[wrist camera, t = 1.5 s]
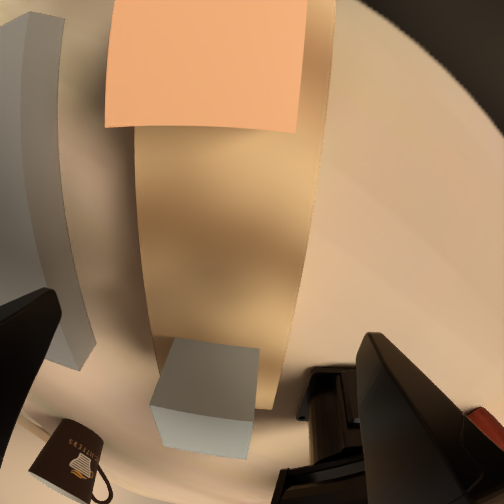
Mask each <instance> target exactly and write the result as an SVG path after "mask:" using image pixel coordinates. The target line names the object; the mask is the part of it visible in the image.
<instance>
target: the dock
mask: <svg viewBox="0 0 504 504" xmlns="http://www.w3.org/2000/svg"><path fill="white" fill-rule="evenodd" d="M64 20H65V19H63V18H59V17H55V16H50V15H46V14H41V13H36V12H31V11H30V12H27V13H25V14H23V15H21V16H19V17H17V18H15V19H14V20H12V21H10V22H8V23H6V24H4V25H3V26H1V27H0V306H1V305H3V304H6V303H8V302H10V301H12V300H15V299H17V298H19V297H21V296H24V295H26V294H28V293H31V292H33V291H35V290H38V289H40V288H42V287H47V288H51V289H54V290H55V291H56V293H57V296H58V300H59V303H60V306H61V309H62V318H61V320H60V323H59V325H58V327H57V330H56V332H55V334H54V337H53V339H52V342H51V344H50V347H49V349H48V352H47V354H46V356H45V359H47V360H49V361H52V362H55V363H57V364H60V365H63V366H66V367H68V368H71V369H74V370H77V371H80V370H81V368H82V367H83V365H84V363H85V362H86V360H87V358H88V357H89V355H90V353H91V352H92V350H93V348H94V347H95V345H96V341H95V338H94V335H93V332H92V329H91V325H90V322H89V319H88V316H87V312H86V309H85V305H84V302H83V298H82V294H81V290H80V287H79V283H78V279H77V274H76V270H75V266H74V261H73V256H72V252H71V247H70V241H69V236H68V230H67V224H66V218H65V211H64V204H63V197H62V188H61V178H60V167H59V153H58V131H57V96H58V74H59V61H60V50H61V41H62V34H63V27H64Z"/></svg>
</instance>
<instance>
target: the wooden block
mask: <svg viewBox="0 0 504 504" xmlns="http://www.w3.org/2000/svg"><path fill="white" fill-rule="evenodd" d="M335 10H336V0H308V1H307V15H306V28H305V40H304V52H303V63H302V74H301V85H300V95H299V105H298V114H297V124H296V133H288V132H279V131H269V130H259V129H247V128H232V127H213V126H135V134H134V147H135V187H136V206H137V221H138V233H139V244H140V254H141V264H142V272H143V280H144V288H145V295H146V302H147V309H148V315H149V321H150V327H151V333H152V339H153V344H154V349H155V354H156V360H157V364H158V369H159V374H160V375H161V372H162V370H163V367H164V364H165V362H166V359H167V357H168V354H169V351H170V349H171V346H172V344H173V341H174V339H175V337H177V338H183V339H189V340H196V341H203V342H210V343H217V344H224V345H232V346H241V347H249V348H259V349H260V355H259V367H258V379H257V390H256V402H255V408H256V409H268V410H272V407H273V403H274V399H275V395H276V391H277V387H278V383H279V379H280V375H281V371H282V366H283V362H284V358H285V353H286V349H287V344H288V340H289V335H290V331H291V326H292V321H293V317H294V312H295V307H296V302H297V297H298V292H299V287H300V282H301V277H302V271H303V266H304V260H305V255H306V249H307V244H308V238H309V232H310V226H311V220H312V214H313V208H314V202H315V195H316V189H317V182H318V175H319V168H320V161H321V154H322V146H323V139H324V131H325V122H326V114H327V105H328V96H329V86H330V76H331V65H332V53H333V41H334V26H335Z"/></svg>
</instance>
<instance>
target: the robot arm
mask: <svg viewBox="0 0 504 504" xmlns="http://www.w3.org/2000/svg"><path fill="white" fill-rule="evenodd" d="M61 318H62V309H61V306H60V303H59V300H58V296H57V293H56V291H55V290H54V289H51V288H47V287H42V288H40V289H38V290H35V291H33V292H31V293H28V294H26V295H24V296H21V297H19V298H17V299H15V300H12V301H10V302H8V303H6V304H3V305H1V306H0V468H1V465H2V461H3V458H4V455H5V451H6V448H7V446H8V443H9V440H10V437H11V434H12V431H13V429H14V426H15V424H16V421H17V419H18V416H19V414H20V411H21V409H22V407H23V404H24V402H25V399H26V397H27V395H28V393H29V390H30V388H31V386H32V384H33V382H34V379H35V377H36V375H37V373H38V371H39V369H40V367H41V365H42V363H43V361H44V359H45V356H46V354H47V352H48V349H49V347H50V344H51V342H52V339H53V337H54V334H55V332H56V330H57V327H58V325H59V323H60V320H61ZM318 374H319V375H318ZM296 419H297V420H298V421H308V426H309V453H310V465H309V466H304V467H299V468H294V469H289V468H287V469H281V470H280V473H279V477H278V480H277V483H276V487H275V490H274V494H273V498H272V501H271V504H504V451H503V450H502V449H501V448H500V447H498V446H497V445H496V444H495V443H494V442H493V441H492V440H491V439H490V438H488V437H487V436H486V435H485V434H484V433H483V432H482V431H481V430H480V429H479V428H478V427H477V426H476V425H475V424H474V423H473V422H472V421H471V420H470V419H469V418H468V417H467V416H466V415H465V414H463V412H462V411H461V410H460V409H459V408H458V407H457V406H456V405H455V404H454V403H453V402H452V401H451V400H450V399H449V398H448V397H447V396H446V395H445V394H444V393H443V392H442V391H441V390H440V389H439V388H438V387H437V386H436V385H435V384H434V383H433V382H432V381H431V380H430V379H429V378H428V377H427V376H426V375H425V374H424V373H423V372H422V371H421V370H420V369H419V368H418V367H416V366H415V365H414V364H413V363H412V362H411V361H410V360H409V359H408V358H407V357H406V356H405V355H404V354H403V353H402V352H401V351H400V350H399V349H398V348H397V347H396V346H395V345H394V344H393V343H392V342H390V341H389V340H388V339H387V338H386V337H385V336H384V335H383V334H382V333H379V332H368V333H366V334H365V336H364V338H363V340H362V343H361V345H360V348H359V350H358V352H357V356H356V369H343V368H315V369H313V370H312V371H311V373H310V376H309V379H308V381H307V384H306V387H305V390H304V393H303V396H302V398H301V401H300V404H299V407H298V409H297V412H296Z"/></svg>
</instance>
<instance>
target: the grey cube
mask: <svg viewBox="0 0 504 504" xmlns="http://www.w3.org/2000/svg"><path fill="white" fill-rule="evenodd" d="M259 355H260V349H259V348H249V347H241V346H232V345H224V344H217V343H210V342H203V341H196V340H189V339H183V338H177V337H175V339H174V341H173V344H172V346H171V349H170V351H169V354H168V357H167V359H166V362H165V364H164V367H163V370H162V372H161V375H160V378H159V380H158V383H157V386H156V388H155V391H154V394H153V396H152V399H151V402H150V408H151V411H152V414H153V417H154V420H155V423H156V425H157V428H158V431H159V434H160V436H161V439H162V442H163V444H164V446H165V447H170V448H174V449H179V450H184V451H189V452H195V453H200V454H206V455H213V456H219V457H227V458H235V459H244V460H247V455H248V450H249V445H250V439H251V434H252V428H253V423H254V413H255V402H256V390H257V379H258V367H259Z"/></svg>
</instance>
